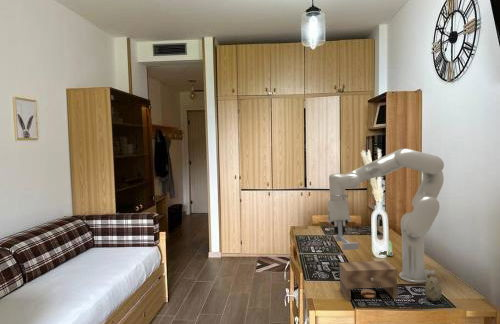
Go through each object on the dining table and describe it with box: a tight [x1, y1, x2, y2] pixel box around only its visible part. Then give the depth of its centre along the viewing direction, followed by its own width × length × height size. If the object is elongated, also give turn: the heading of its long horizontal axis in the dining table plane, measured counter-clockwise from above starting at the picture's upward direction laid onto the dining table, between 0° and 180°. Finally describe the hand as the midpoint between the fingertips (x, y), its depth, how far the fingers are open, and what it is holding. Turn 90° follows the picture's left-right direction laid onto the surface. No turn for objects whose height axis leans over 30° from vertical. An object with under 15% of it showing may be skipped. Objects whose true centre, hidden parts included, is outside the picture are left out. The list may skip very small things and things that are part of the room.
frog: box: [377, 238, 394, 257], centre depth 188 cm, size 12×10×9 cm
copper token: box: [360, 288, 377, 299], centre depth 137 cm, size 6×6×2 cm
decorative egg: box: [424, 276, 443, 302], centre depth 130 cm, size 6×6×10 cm
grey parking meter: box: [334, 220, 359, 251], centre depth 154 cm, size 7×19×12 cm, turn 1°
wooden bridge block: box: [339, 260, 398, 301], centre depth 137 cm, size 21×11×12 cm, turn 91°
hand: (339, 233), depth 161 cm, fingers closed on grey parking meter
